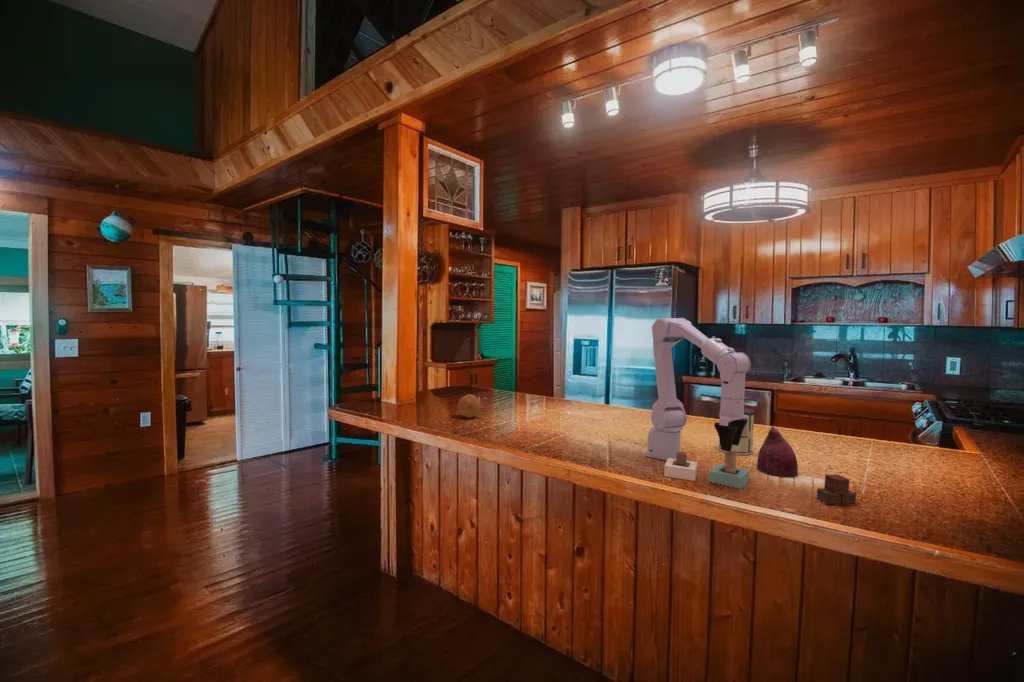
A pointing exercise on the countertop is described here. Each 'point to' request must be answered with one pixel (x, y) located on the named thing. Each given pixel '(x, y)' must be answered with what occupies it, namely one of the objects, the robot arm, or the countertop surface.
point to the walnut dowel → (681, 459)
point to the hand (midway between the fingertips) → (730, 447)
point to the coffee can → (744, 436)
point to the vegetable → (777, 456)
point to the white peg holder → (680, 470)
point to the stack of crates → (836, 491)
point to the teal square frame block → (729, 477)
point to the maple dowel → (730, 462)
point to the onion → (469, 406)
